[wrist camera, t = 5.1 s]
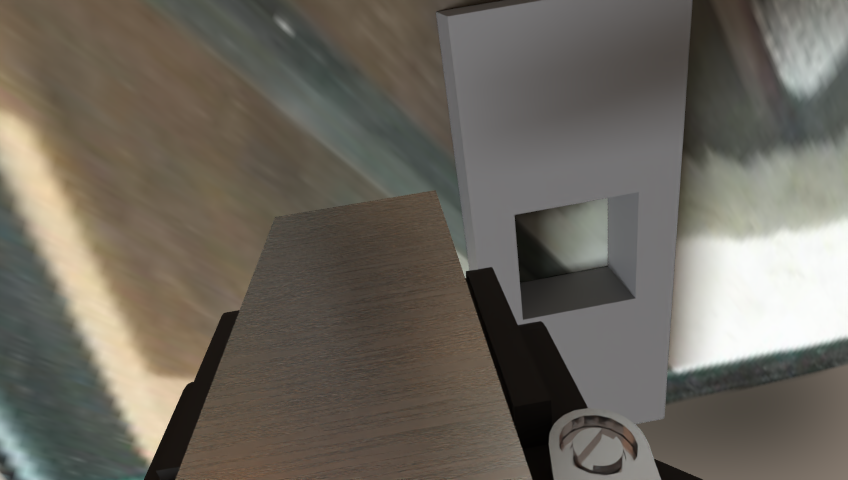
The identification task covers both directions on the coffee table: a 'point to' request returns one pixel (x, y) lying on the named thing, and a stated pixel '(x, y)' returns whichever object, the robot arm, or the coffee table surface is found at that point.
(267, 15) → the coffee table surface
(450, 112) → the grey block with hole
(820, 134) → the coffee table surface
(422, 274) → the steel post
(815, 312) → the coffee table surface
